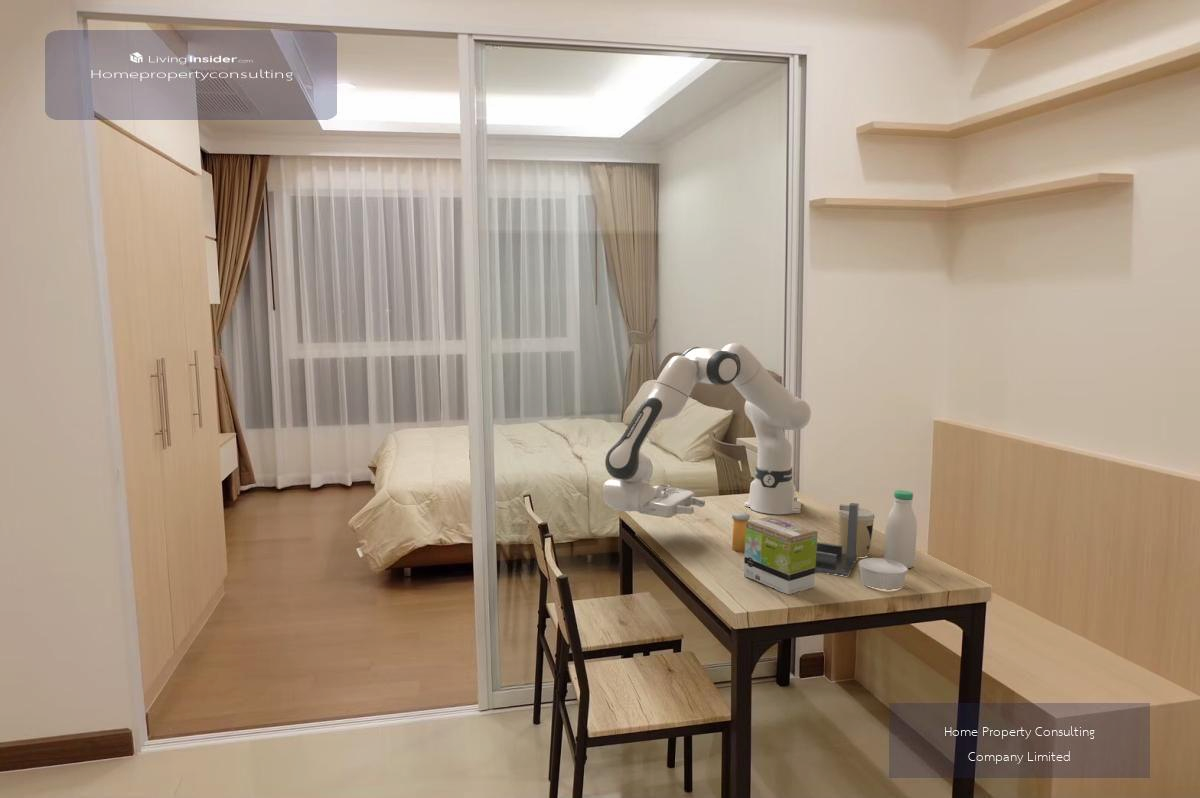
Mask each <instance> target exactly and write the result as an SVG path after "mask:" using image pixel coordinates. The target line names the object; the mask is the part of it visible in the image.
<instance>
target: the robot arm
mask: <svg viewBox="0 0 1200 798" xmlns="http://www.w3.org/2000/svg"><path fill="white" fill-rule="evenodd" d="M698 383H701V384H708V385H715V386H727V385H729V384H732V385H733V387H734V388H735V389H736V390H737V391H738V393H740V395H741V396H742V397H743V398H744V400H745V403H744V413H745V416H746V417H747V418H748V419H749V421H750V423H751V425H752V427H753V430H754V433H755V434H754V435H755V437H756V442H757V459H756V461H757V462H756V464H757V465H756V466H755V471H754V473H755V475H754V476H755V479H754V480H752V482H750V486H749V497H748V500H747V501H745V502H744V506H745V507H747V508H749V507H750V508H749V509H750V510H752V511H754V512H757V513H762V514H769V515H789V514H801V509H802V500H801V499H798V497H796V486H795V484H794V482H793V467H792V453H793V449H792V444H791V442H790V441H789V440H788V439H787V437H786V435H785V433H784V430H786V431H791V430H792V431H796V430H797V431H798V430H802V429H804V428H806V426H807V425H808V424H809V422H810V420H811V417H812V416H811V415H812V414H811V412H812V411H811V408H810V406H809V405H810V404H808V403H807V402H806V401H805V400H804V399H801V398H800V397H797V396H796V395H795V394H793V393H792V392H791V391H790V390H788V389H787V388H786V387H785V386H783V385H782V384H781V383H780V382H778V380H776V379H775V378H774V377H773V376H772V375H771V374H770V373H769V372H768V371H767V369H766V368H765V367H764V366H763V364H762V363H761V362H760V361H759V360H758V358H757V357H756V356H755V355H754V354H753V353H752V352H751V351H750V350H749V349H748V348H747V347H745V346H744V345H743V344H741V343H738V342H731V343H728V344H726V345H724V347H722V348H721V350H720V349H716V348H713V347H699V346H696V347H691V348H687V350H685V351H684V352H683V353H682V354H681V355H675V356H672V357H671V358H670V359H669V360H668V362H667V363H666V365H665V366H664V367H663V369H662V371H661V372H660V374H659V375H658V377H657V379H656V381H655V383H654V385H653V387H652V389H651V391H650V392H649V394H648V396H647V397H646V398H645V400H644V401H643V403H642V404H641V405H640V406H639V408H638V409H637V410H636V413H635V414H634V416H633V417H632V420H630V423H629V425H628V426H627V428H626V429H625V431H624V433H623V434H622V436H621V437H620V439H619V440H618V441H617V442H616V443H615V444H614V445H612V447H611V448H610V449H609V450H608V452H607V454H606V456H605V468H606V471H607V473H608V474H609V475H610V477H609V478H608V479H607V480H606V481H604V483H603V486H602V492H601V493H602V494H601V495H602V499H603V502H604V503H605V505H607V506H608V507H610V508H612V509H615V510H618V511H623V512H637V513H639V514H642V515H648V516H655V517H660V518H669V519H670V518H673V517H674V516H675V515H682V514H683V515H684V514H687V515H692V514H693V513H694V510H695V508H694V507H693V506H697V507H698V508H700V507H701V508H703V507H705V506H706V501H705V499H700V498H697V497H696V496H695V495H696V494H695V492H693V491H692V490H688V489H683V488H677V487H671V485H670V484H661V485H660V484H659V485H658V484H649V483H650V482H651V481H650V480H651V478H652V475H653V470H654V469H653V468H654V467H653V462H652V461H651V460H650V457H648V456H647V455H645V454H643V453H641V448H642V446H643V444H644V443H645V441H646V439H647V437H648V436H649V434H650V432H651V431H652V429H653V428H654V426H655V425H657V423H659V422H662V421H666V420H671V419H674V418H676V417H678V416H679V415H680V414H681V412H682V411H683V409H684V408H685V406H686V405H687V402H688V401H689V398H690V396H691V394H692V391H693V389H694V386H696V384H698Z"/></svg>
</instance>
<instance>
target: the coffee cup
mask: <svg viewBox="0 0 1200 798" xmlns="http://www.w3.org/2000/svg"><path fill="white" fill-rule="evenodd" d="M838 515H839V545H840V546H843V547H842V553H843V554H846V553H847V537H848V521H849V511H844V510H839V512H838ZM874 520H875V513H874V512H873V511H871V510H869V509H865V508H862V507H860V508H859V511H858V527H857V542H856V556H857V557H865V556H868V555H869V556H870V549H871V544H872V543H871V542H872V535H873V529H874ZM869 556H868V557H869ZM865 558H866V557H865Z"/></svg>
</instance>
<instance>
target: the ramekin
mask: <svg viewBox="0 0 1200 798" xmlns="http://www.w3.org/2000/svg"><path fill="white" fill-rule="evenodd" d="M858 567H859V572H860V573H859V574H860V580H861V583H862V584H863V585H864V584H865V585H867V586H870V587H874V588H879V589H886V590H892V589H899V588H901V587H902V588H903V586H904V583H905V580H906V576H907V575H908V571H909V569H907V567H906V566H904V565H903V564H901V563H899V562H896V561H892V560H888V559H884V558H881V557H866V558H862V559H861V560H859V562H858ZM865 585H864V586H865ZM902 588H901V589H902Z"/></svg>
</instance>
